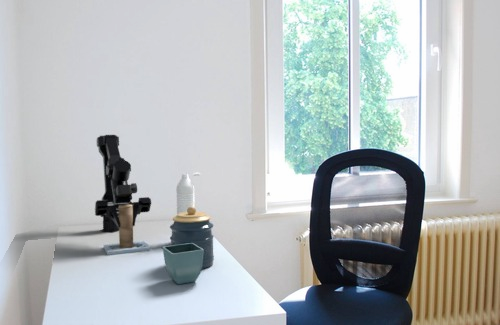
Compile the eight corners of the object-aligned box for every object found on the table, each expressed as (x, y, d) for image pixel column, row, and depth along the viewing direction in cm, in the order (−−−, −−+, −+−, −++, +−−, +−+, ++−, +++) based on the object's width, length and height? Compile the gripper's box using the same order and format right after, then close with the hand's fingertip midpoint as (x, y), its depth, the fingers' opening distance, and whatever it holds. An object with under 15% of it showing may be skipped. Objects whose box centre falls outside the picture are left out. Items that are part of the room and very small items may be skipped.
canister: (175, 272, 133) (174, 211, 132) (166, 261, 145) (165, 204, 144) (219, 267, 138) (218, 208, 137) (207, 257, 150) (206, 202, 149)
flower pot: (172, 288, 120) (172, 253, 119) (162, 279, 127) (161, 246, 127) (205, 283, 124) (204, 249, 123) (193, 274, 132) (192, 242, 131)
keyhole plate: (144, 243, 169) (144, 240, 169) (151, 250, 159) (151, 247, 159) (103, 247, 163) (103, 244, 163) (107, 255, 153) (107, 251, 153)
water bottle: (179, 244, 167) (178, 174, 166) (175, 240, 173) (174, 173, 172) (203, 242, 170) (202, 173, 169) (198, 238, 176) (197, 172, 175)
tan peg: (128, 245, 165) (127, 204, 164) (136, 247, 162) (135, 205, 161) (116, 247, 161) (115, 205, 160) (124, 249, 158) (123, 207, 157)
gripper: (94, 177, 159) (99, 214, 150) (149, 174, 167) (157, 210, 158) (92, 197, 167) (97, 233, 158) (145, 193, 175) (152, 228, 166)
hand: (126, 226), depth 160 cm, fingers closed on tan peg, 5 cm apart
